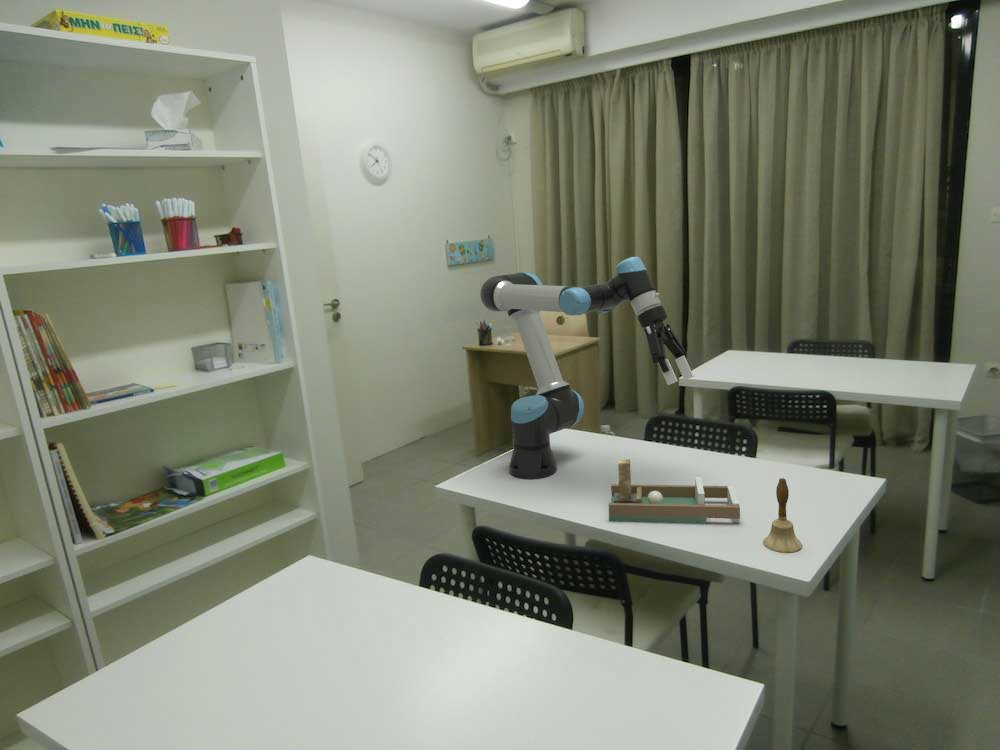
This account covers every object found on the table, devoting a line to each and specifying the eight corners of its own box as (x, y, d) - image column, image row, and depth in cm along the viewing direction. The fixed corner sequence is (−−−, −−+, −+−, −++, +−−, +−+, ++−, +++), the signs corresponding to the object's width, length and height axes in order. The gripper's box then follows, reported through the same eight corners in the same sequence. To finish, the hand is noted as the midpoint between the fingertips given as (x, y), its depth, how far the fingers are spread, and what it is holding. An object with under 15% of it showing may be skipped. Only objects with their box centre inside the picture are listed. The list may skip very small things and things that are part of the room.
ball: (647, 508, 172) (647, 494, 171) (647, 502, 175) (647, 488, 175) (663, 508, 171) (662, 494, 170) (662, 502, 174) (662, 488, 174)
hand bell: (760, 549, 149) (761, 483, 146) (765, 534, 156) (766, 471, 153) (800, 555, 145) (802, 488, 142) (803, 539, 152) (805, 474, 149)
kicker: (613, 509, 172) (611, 466, 169) (614, 497, 179) (613, 456, 177) (641, 510, 170) (640, 466, 167) (641, 498, 178) (640, 456, 175)
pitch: (609, 521, 169) (608, 493, 168) (612, 499, 183) (611, 474, 181) (739, 524, 162) (739, 496, 161) (732, 501, 175) (732, 475, 174)
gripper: (644, 304, 168) (678, 379, 165) (676, 304, 189) (707, 371, 186) (619, 317, 172) (652, 391, 169) (653, 315, 193) (683, 381, 190)
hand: (681, 381), depth 177 cm, fingers open, 13 cm apart
